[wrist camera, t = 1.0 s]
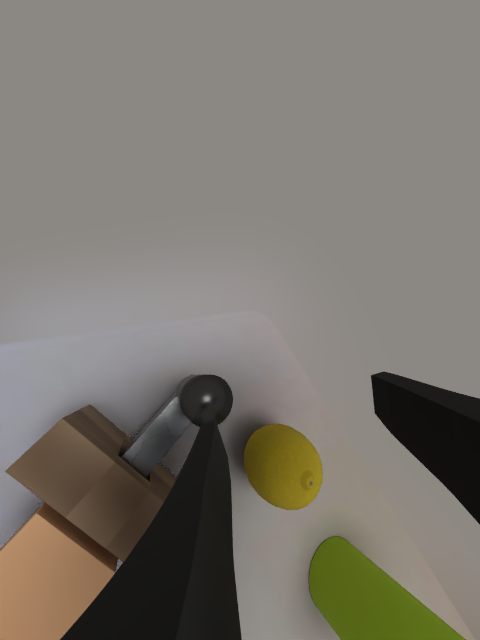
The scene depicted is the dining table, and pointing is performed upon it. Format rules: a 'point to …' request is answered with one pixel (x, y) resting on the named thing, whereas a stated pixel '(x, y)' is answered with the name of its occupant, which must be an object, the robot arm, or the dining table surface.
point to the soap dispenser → (368, 599)
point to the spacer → (49, 577)
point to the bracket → (93, 480)
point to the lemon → (283, 466)
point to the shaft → (178, 419)
